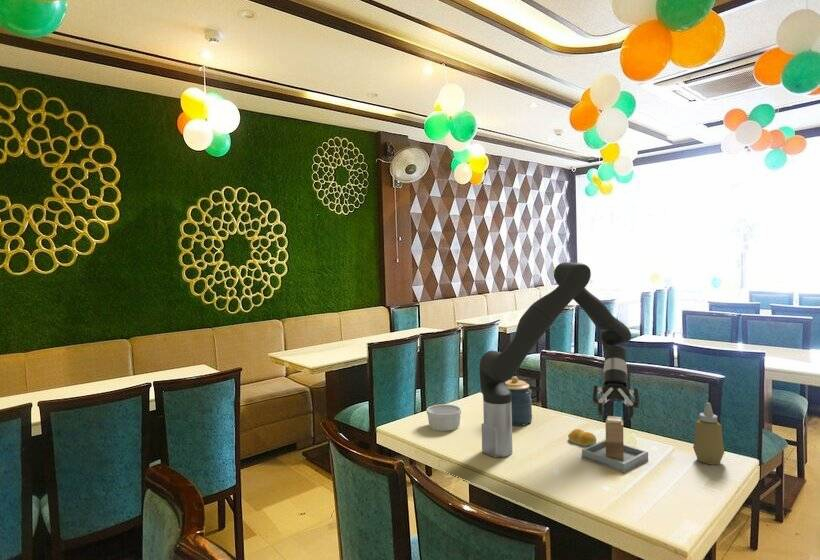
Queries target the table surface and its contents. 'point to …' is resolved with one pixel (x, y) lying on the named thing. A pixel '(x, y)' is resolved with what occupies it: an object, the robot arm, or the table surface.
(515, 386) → the canister
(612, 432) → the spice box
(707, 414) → the squeeze bottle
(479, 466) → the table surface
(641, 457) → the tray
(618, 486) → the table surface
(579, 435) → the bread roll
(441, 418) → the ramekin
